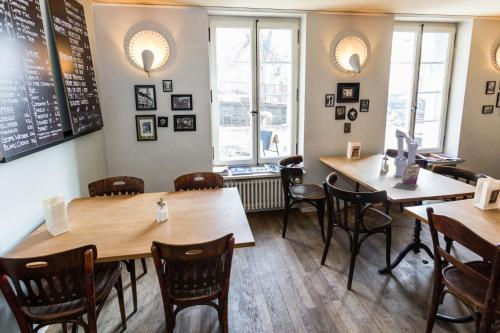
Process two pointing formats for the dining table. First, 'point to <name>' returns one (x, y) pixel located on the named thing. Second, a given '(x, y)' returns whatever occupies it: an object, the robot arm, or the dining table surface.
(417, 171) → the candy bar box
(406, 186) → the mat
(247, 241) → the dining table surface
